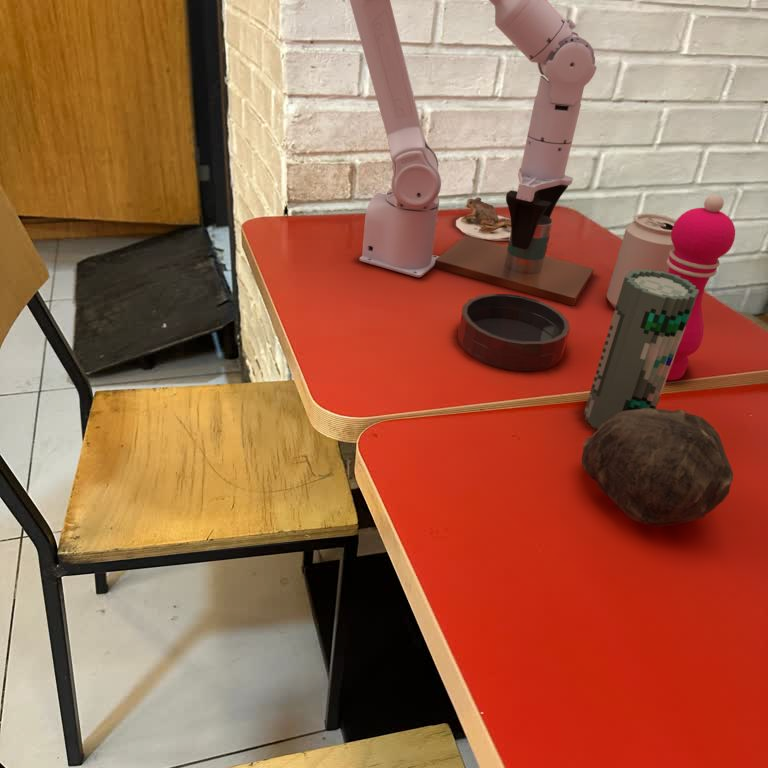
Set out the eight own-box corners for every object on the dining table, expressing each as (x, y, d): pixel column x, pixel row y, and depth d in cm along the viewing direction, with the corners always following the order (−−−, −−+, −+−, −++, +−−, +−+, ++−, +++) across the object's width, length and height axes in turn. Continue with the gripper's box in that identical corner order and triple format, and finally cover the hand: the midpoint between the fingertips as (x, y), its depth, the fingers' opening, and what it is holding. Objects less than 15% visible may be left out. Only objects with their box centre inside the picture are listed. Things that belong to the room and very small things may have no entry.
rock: (591, 433, 65) (633, 352, 59) (708, 493, 62) (766, 415, 55) (552, 499, 59) (593, 416, 52) (680, 571, 55) (743, 493, 48)
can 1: (665, 323, 89) (696, 235, 83) (606, 314, 90) (632, 225, 84) (658, 299, 95) (686, 215, 89) (602, 290, 96) (627, 206, 90)
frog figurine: (438, 223, 113) (441, 200, 111) (485, 211, 121) (489, 189, 119) (492, 246, 107) (496, 222, 105) (538, 232, 114) (543, 210, 112)
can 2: (638, 447, 66) (689, 305, 58) (577, 423, 68) (618, 284, 60) (653, 418, 70) (703, 282, 62) (595, 396, 73) (636, 263, 65)
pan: (442, 350, 78) (446, 322, 76) (478, 310, 88) (483, 284, 86) (546, 383, 74) (554, 355, 72) (573, 337, 84) (580, 311, 82)
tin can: (499, 267, 97) (509, 219, 93) (511, 255, 101) (520, 208, 97) (536, 276, 95) (547, 228, 91) (546, 264, 99) (557, 217, 96)
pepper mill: (687, 359, 82) (751, 192, 71) (689, 389, 76) (760, 212, 65) (624, 345, 83) (678, 179, 72) (622, 373, 77) (679, 197, 67)
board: (433, 267, 98) (435, 259, 97) (463, 242, 107) (465, 235, 106) (573, 306, 91) (575, 297, 91) (592, 276, 100) (594, 268, 100)
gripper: (566, 155, 82) (541, 262, 89) (592, 134, 93) (568, 231, 100) (510, 143, 84) (490, 249, 91) (541, 124, 95) (521, 219, 103)
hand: (527, 239), depth 96 cm, fingers open, 7 cm apart
